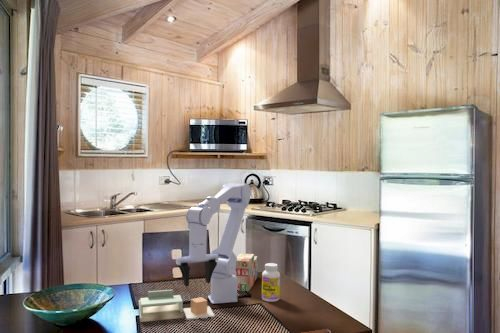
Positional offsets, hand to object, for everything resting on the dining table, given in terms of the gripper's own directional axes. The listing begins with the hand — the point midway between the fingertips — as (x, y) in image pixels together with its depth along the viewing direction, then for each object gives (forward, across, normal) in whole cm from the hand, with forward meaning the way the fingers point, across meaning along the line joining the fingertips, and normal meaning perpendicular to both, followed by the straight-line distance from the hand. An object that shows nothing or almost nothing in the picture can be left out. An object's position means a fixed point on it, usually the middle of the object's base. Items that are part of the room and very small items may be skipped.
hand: (197, 283), depth 131 cm
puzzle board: (+9, +10, -7) cm, 16 cm away
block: (+9, 0, +2) cm, 9 cm away
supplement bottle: (+10, -29, +1) cm, 30 cm away
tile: (+9, 0, +1) cm, 10 cm away
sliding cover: (+8, +11, -3) cm, 14 cm away
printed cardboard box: (+10, -31, -20) cm, 38 cm away
